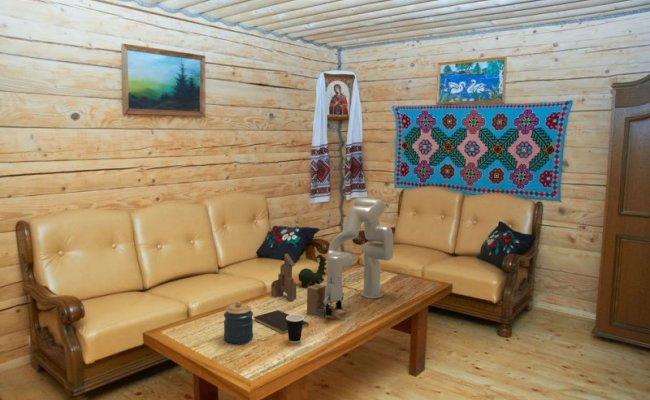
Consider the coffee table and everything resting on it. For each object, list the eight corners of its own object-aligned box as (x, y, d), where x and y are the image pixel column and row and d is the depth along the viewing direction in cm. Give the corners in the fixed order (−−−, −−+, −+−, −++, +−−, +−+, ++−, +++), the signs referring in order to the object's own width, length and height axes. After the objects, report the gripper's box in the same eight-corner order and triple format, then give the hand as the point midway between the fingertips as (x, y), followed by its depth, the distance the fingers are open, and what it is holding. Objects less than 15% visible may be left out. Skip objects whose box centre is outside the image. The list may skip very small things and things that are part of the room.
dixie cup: (303, 344, 220) (304, 320, 218) (285, 345, 219) (285, 320, 218) (303, 337, 227) (303, 314, 226) (285, 337, 227) (286, 314, 225)
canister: (255, 343, 220) (255, 305, 217) (225, 346, 216) (224, 307, 214) (250, 332, 232) (251, 295, 230) (222, 335, 228) (222, 297, 226)
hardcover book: (282, 335, 231) (282, 330, 231) (253, 321, 247) (253, 316, 247) (308, 326, 242) (308, 322, 242) (279, 314, 258) (279, 309, 258)
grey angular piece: (316, 309, 265) (316, 283, 263) (333, 313, 258) (334, 287, 256) (306, 313, 258) (307, 287, 256) (323, 318, 251) (324, 291, 250)
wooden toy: (270, 296, 285) (270, 253, 282) (278, 293, 290) (279, 251, 287) (290, 302, 275) (291, 257, 272) (298, 299, 281) (299, 255, 277)
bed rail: (346, 319, 251) (346, 309, 251) (341, 321, 248) (341, 311, 247) (325, 313, 259) (325, 303, 258) (320, 315, 255) (320, 306, 254)
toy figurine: (316, 281, 320) (291, 287, 300) (319, 252, 319) (293, 255, 299) (328, 284, 315) (303, 290, 295) (330, 254, 313) (305, 258, 294)
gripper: (338, 274, 260) (337, 306, 262) (318, 281, 246) (317, 315, 248) (350, 277, 255) (349, 309, 258) (330, 284, 241) (329, 319, 244)
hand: (333, 312), depth 253 cm, fingers open, 8 cm apart
